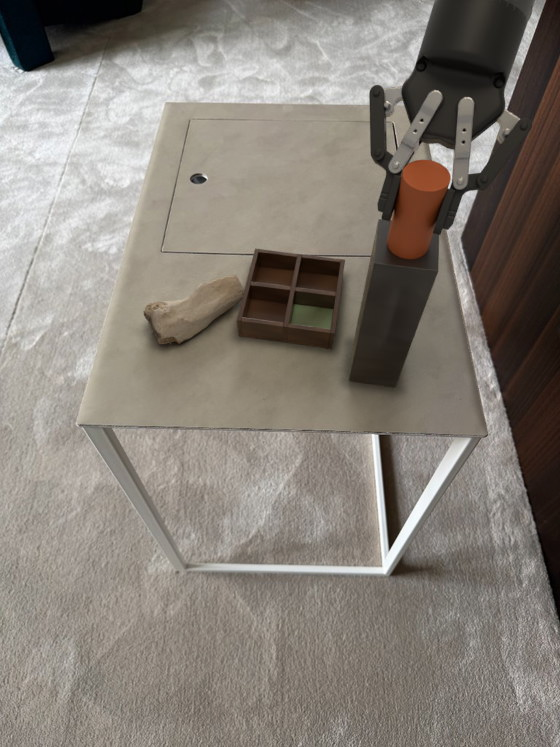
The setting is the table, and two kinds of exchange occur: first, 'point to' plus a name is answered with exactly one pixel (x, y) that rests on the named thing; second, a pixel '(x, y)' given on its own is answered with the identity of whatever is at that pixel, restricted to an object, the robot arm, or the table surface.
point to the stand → (390, 310)
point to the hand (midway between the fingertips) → (411, 226)
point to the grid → (291, 298)
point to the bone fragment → (193, 310)
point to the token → (417, 208)
